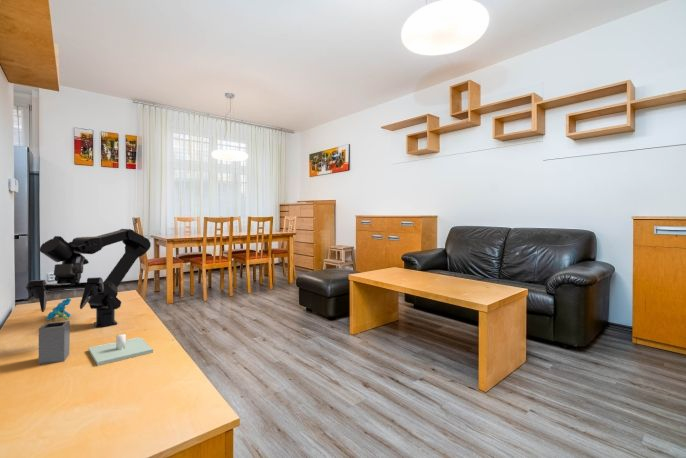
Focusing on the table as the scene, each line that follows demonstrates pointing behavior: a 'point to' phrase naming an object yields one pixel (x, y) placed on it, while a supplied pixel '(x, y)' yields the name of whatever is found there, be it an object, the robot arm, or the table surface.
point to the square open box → (54, 342)
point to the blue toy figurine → (60, 310)
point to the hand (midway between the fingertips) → (62, 309)
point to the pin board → (119, 350)
